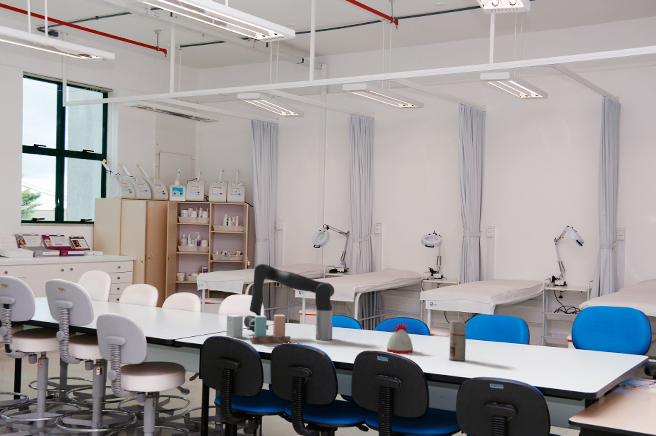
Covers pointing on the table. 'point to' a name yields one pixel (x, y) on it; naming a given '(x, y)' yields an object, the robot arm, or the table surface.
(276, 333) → the salmon pink rectangular block
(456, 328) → the spray can
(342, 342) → the table surface
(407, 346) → the grey and red dome
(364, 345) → the table surface
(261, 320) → the teal rectangular block
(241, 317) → the small box
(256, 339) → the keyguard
